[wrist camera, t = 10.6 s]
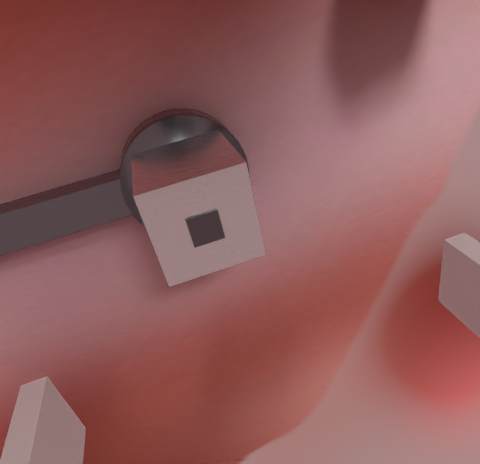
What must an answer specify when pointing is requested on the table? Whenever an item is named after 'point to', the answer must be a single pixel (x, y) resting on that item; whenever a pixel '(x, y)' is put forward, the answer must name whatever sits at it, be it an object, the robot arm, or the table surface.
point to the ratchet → (99, 186)
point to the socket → (197, 206)
